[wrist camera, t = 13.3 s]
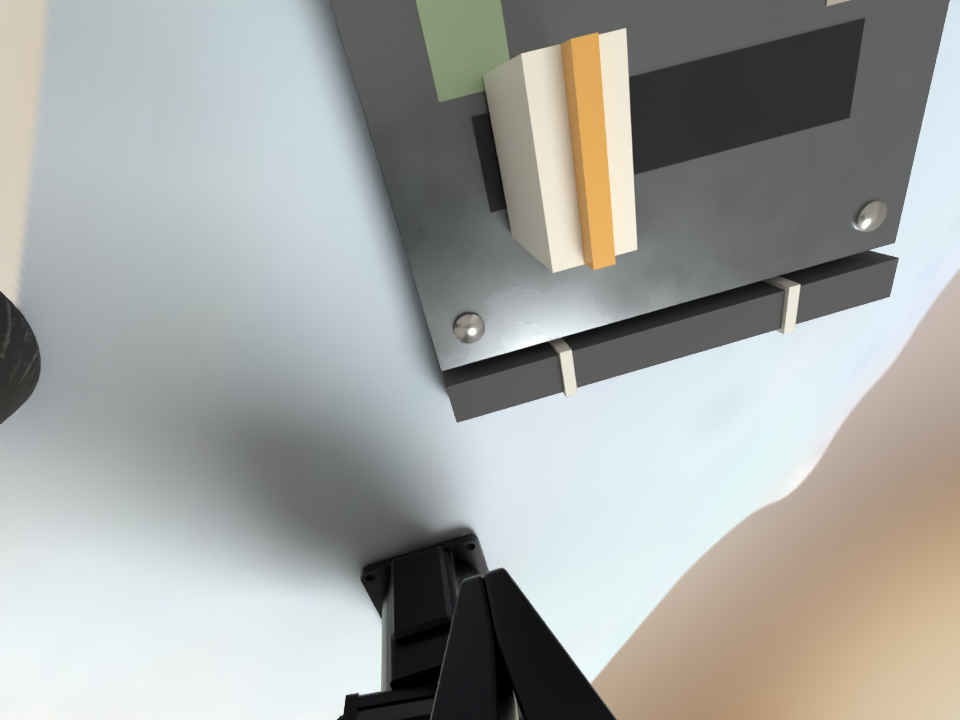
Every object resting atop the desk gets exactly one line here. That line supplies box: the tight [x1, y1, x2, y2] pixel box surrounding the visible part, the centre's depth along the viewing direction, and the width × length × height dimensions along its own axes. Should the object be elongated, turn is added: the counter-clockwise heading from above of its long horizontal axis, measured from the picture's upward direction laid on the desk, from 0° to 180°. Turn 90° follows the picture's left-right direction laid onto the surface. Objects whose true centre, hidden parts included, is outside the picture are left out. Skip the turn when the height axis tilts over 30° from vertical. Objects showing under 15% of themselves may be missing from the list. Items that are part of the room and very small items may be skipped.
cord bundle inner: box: [443, 250, 899, 422], centre depth 20 cm, size 2×20×2 cm, turn 102°
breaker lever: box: [483, 28, 637, 273], centre depth 13 cm, size 5×2×5 cm, turn 12°
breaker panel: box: [330, 0, 950, 371], centre depth 16 cm, size 14×20×2 cm
